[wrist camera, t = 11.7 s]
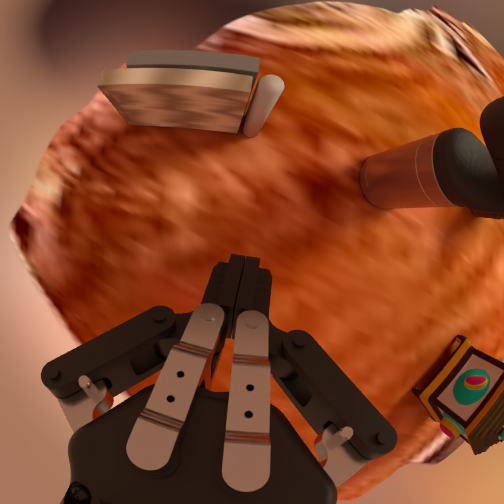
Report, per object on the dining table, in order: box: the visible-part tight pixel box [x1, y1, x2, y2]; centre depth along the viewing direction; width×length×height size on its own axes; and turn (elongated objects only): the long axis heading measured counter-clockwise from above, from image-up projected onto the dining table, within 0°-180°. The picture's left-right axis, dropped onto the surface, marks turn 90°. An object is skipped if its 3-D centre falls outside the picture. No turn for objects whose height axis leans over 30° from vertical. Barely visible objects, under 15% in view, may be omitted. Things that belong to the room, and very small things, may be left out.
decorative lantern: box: [412, 335, 504, 455], centre depth 36 cm, size 20×20×30 cm
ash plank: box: [98, 68, 253, 134], centre depth 30 cm, size 16×2×14 cm, turn 83°
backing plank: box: [126, 50, 284, 137], centre depth 30 cm, size 17×5×15 cm, turn 84°
